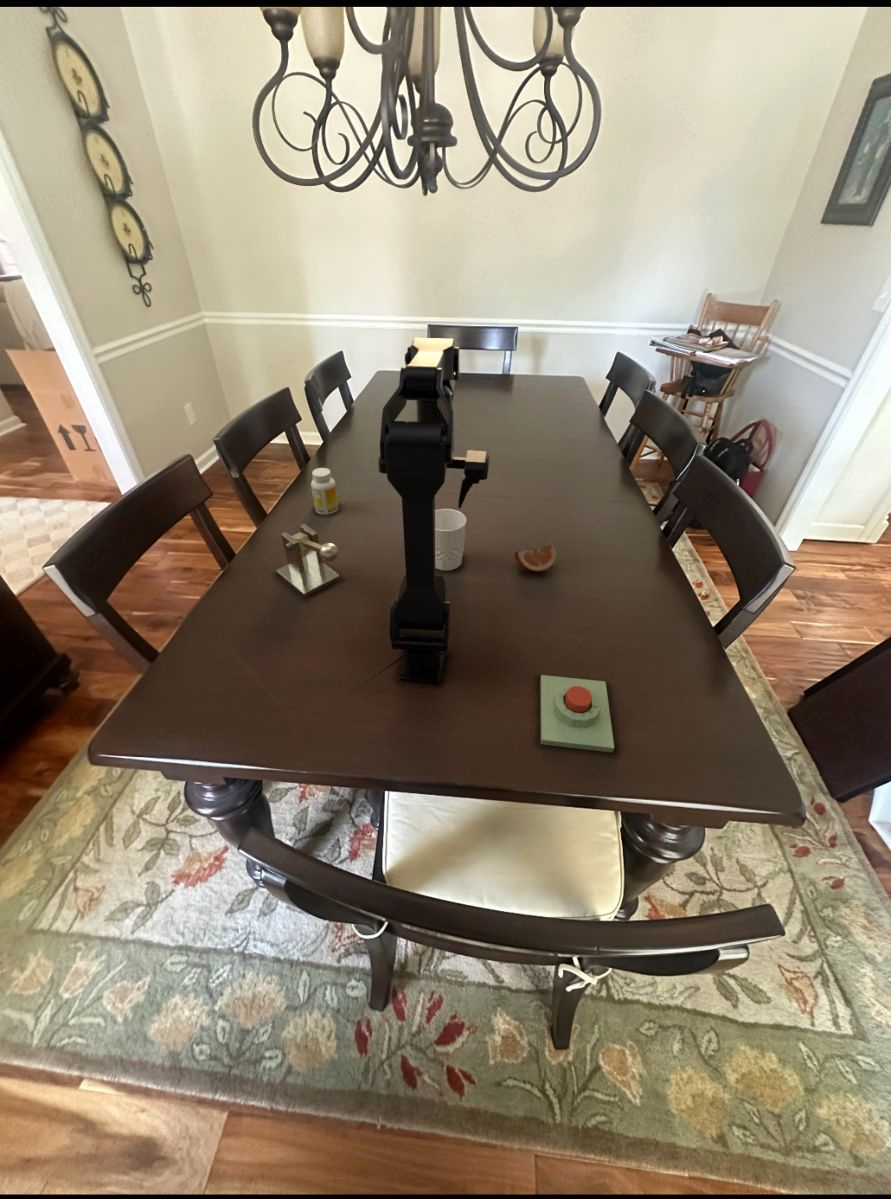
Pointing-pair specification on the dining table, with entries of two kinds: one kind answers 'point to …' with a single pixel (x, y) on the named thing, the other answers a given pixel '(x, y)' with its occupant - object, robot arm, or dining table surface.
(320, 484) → the supplement bottle
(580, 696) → the button
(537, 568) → the fruit slice
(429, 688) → the dining table surface
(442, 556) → the white cup
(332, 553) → the lever
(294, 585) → the bracket
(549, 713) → the switchbox
